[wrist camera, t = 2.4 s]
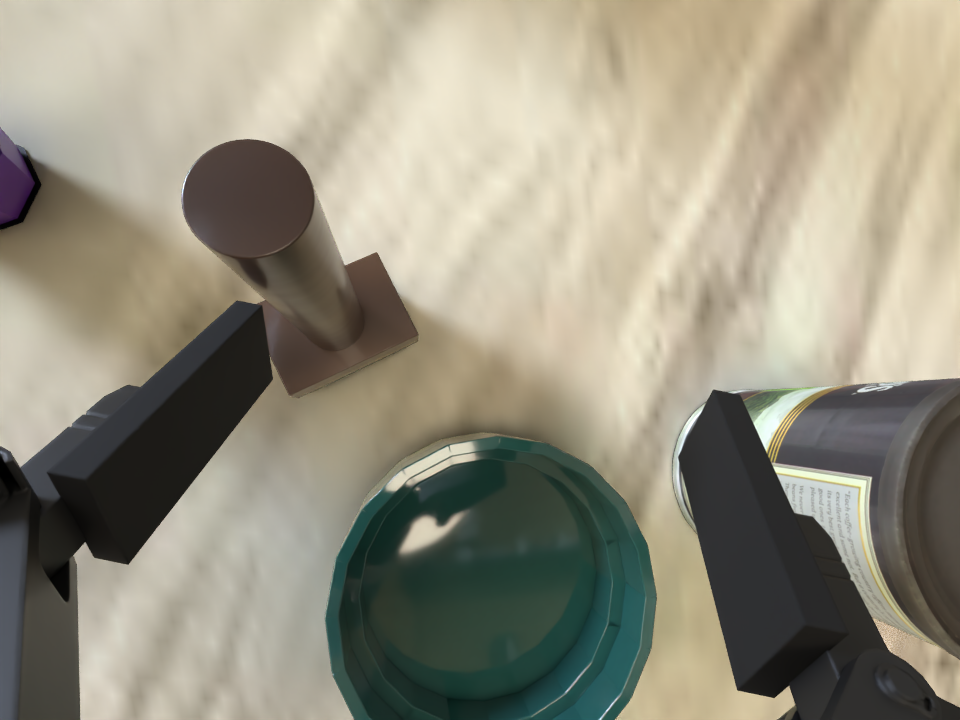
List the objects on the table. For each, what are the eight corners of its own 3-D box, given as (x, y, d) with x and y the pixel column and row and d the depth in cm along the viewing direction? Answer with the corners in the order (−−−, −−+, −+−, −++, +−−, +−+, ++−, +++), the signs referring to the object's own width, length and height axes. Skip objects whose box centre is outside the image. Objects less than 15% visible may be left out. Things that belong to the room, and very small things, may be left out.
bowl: (290, 515, 26) (265, 540, 22) (538, 387, 29) (566, 382, 24) (419, 778, 26) (423, 862, 21) (656, 622, 29) (709, 665, 24)
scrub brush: (269, 325, 27) (50, 161, 11) (381, 276, 28) (342, 59, 12) (306, 401, 27) (140, 355, 10) (417, 347, 28) (430, 230, 12)
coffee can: (692, 367, 31) (928, 332, 17) (835, 417, 32) (1165, 422, 18) (650, 534, 29) (874, 643, 16) (803, 579, 31) (1135, 718, 17)
